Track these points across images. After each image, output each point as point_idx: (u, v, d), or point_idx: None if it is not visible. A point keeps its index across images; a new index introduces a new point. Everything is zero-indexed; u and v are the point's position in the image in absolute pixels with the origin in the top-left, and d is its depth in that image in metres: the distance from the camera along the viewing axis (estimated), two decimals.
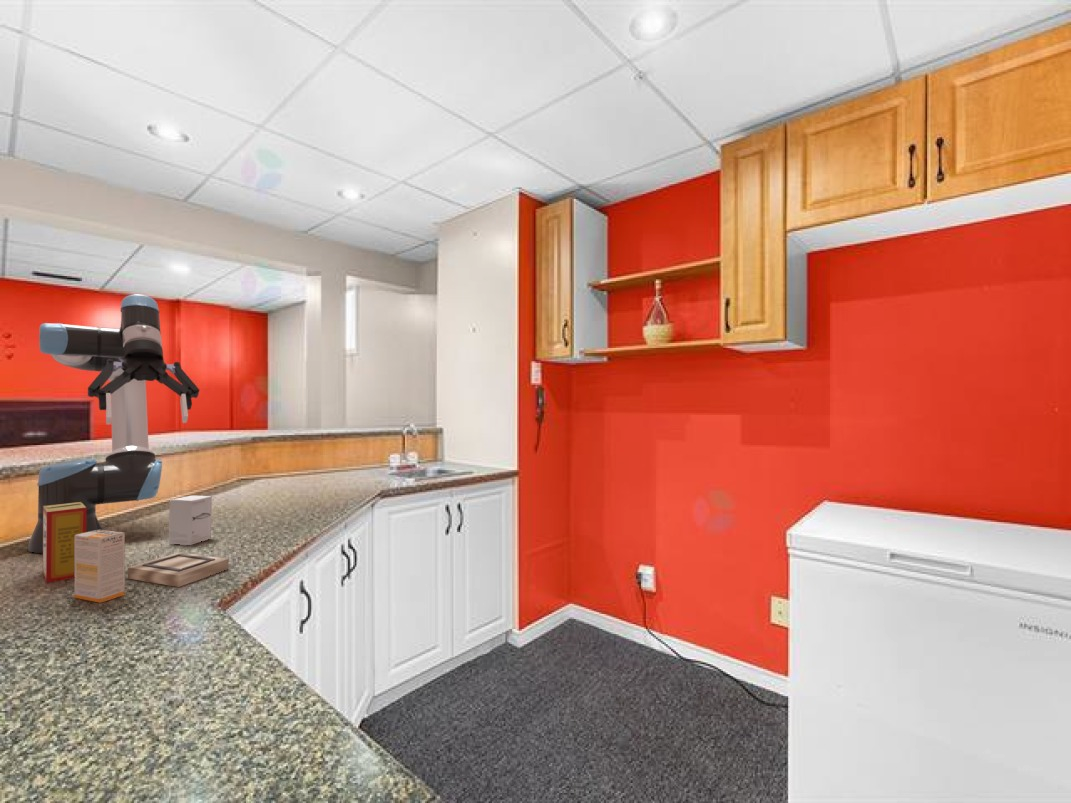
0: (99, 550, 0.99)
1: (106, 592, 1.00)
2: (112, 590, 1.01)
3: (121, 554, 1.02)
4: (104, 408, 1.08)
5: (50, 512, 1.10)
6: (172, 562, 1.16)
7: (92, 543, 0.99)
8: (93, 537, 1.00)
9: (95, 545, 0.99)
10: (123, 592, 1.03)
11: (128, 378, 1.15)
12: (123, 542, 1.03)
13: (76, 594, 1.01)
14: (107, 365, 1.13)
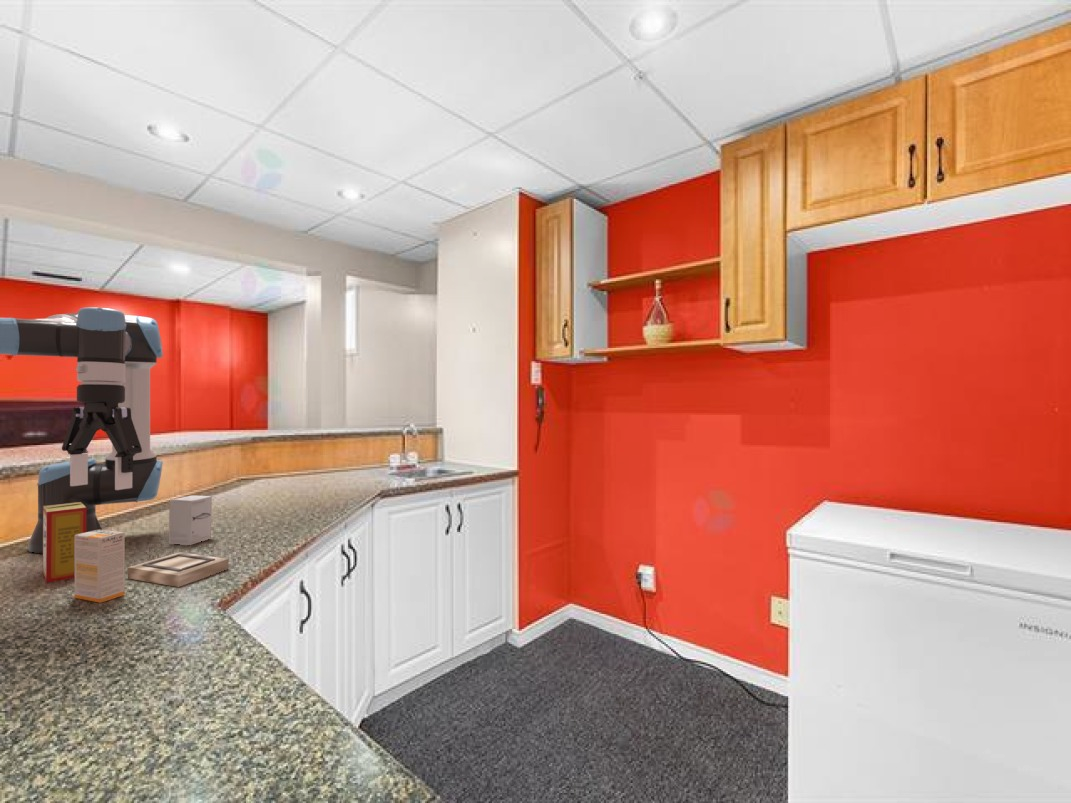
0: (99, 550, 0.99)
1: (106, 592, 1.00)
2: (112, 590, 1.01)
3: (121, 554, 1.02)
4: None
5: (50, 512, 1.10)
6: (172, 562, 1.16)
7: (92, 543, 0.99)
8: (93, 537, 1.00)
9: (94, 545, 0.99)
10: (123, 592, 1.03)
11: (90, 429, 1.03)
12: (123, 542, 1.03)
13: (76, 594, 1.01)
14: (72, 416, 1.03)
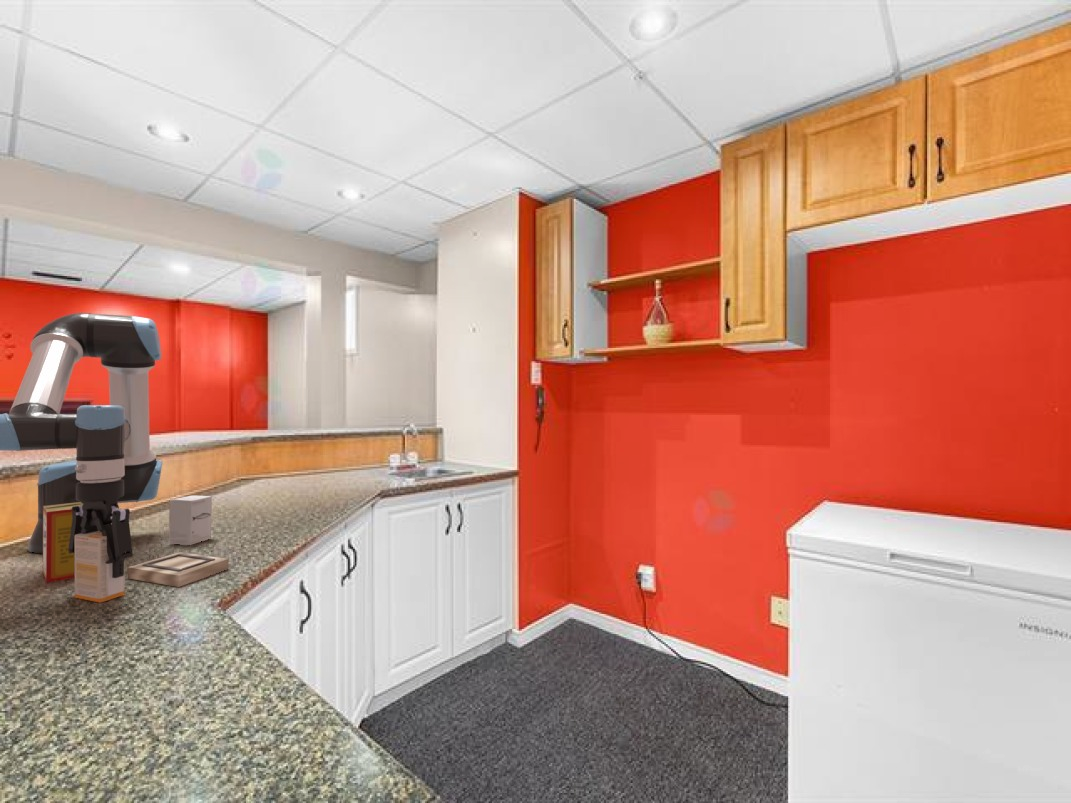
0: (99, 550, 0.99)
1: None
2: None
3: None
4: None
5: (50, 512, 1.10)
6: (172, 562, 1.16)
7: (92, 543, 0.99)
8: (93, 537, 1.00)
9: (94, 545, 0.99)
10: (123, 592, 1.03)
11: (93, 527, 1.03)
12: None
13: (76, 594, 1.01)
14: (73, 516, 1.03)
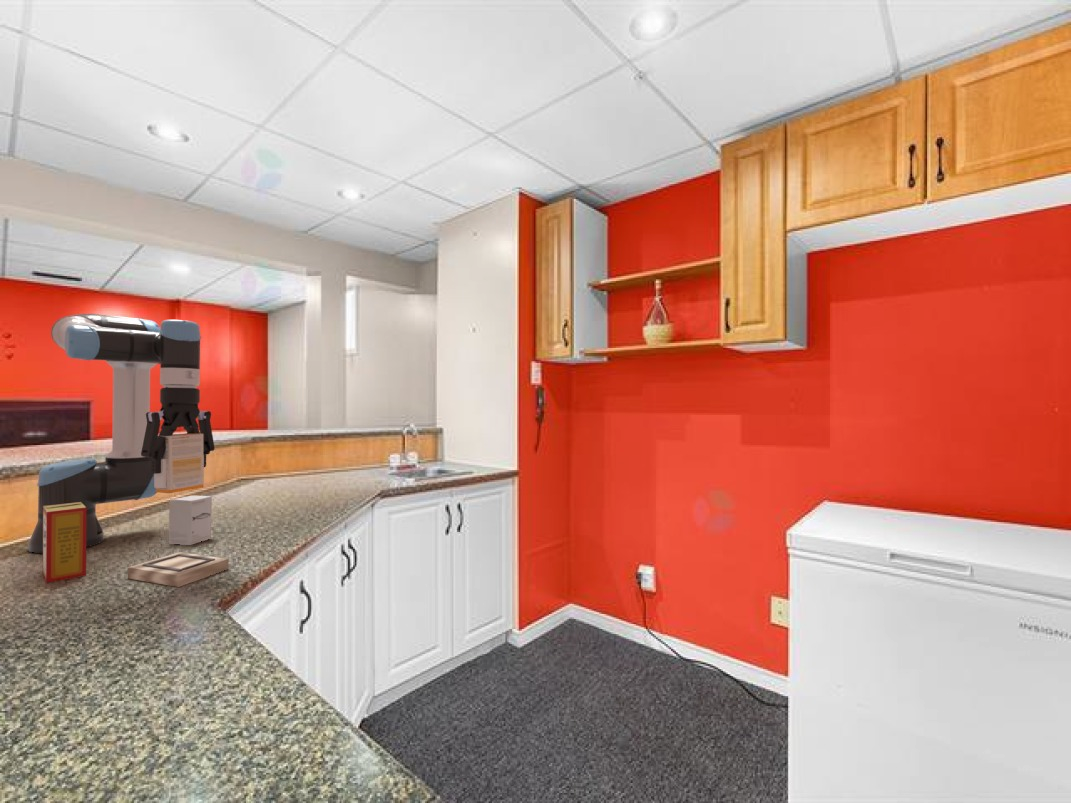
0: (202, 444, 1.19)
1: None
2: None
3: None
4: None
5: (50, 512, 1.10)
6: (172, 562, 1.16)
7: (194, 439, 1.17)
8: (193, 434, 1.17)
9: (197, 440, 1.17)
10: None
11: None
12: None
13: (173, 489, 1.12)
14: (155, 421, 1.09)
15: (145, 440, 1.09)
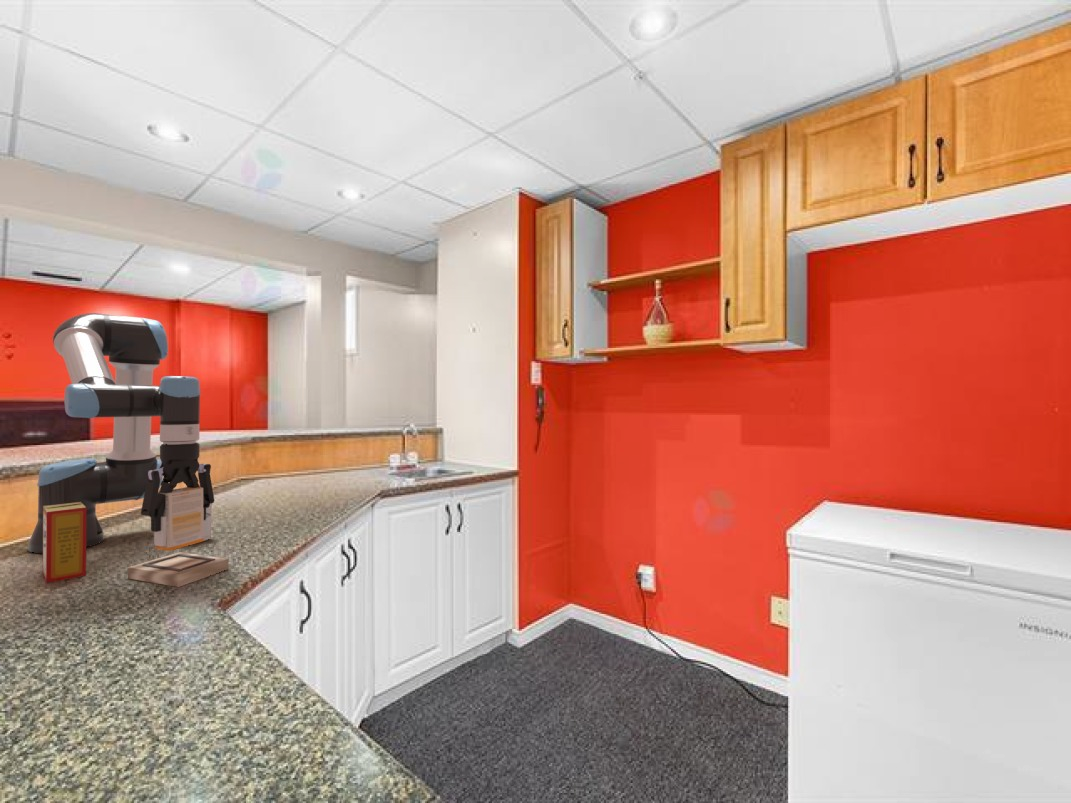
0: (202, 498, 1.19)
1: None
2: None
3: None
4: None
5: (50, 512, 1.10)
6: (172, 562, 1.16)
7: (194, 494, 1.17)
8: (192, 489, 1.17)
9: (197, 495, 1.17)
10: None
11: None
12: None
13: (173, 546, 1.12)
14: (155, 480, 1.09)
15: (145, 499, 1.09)
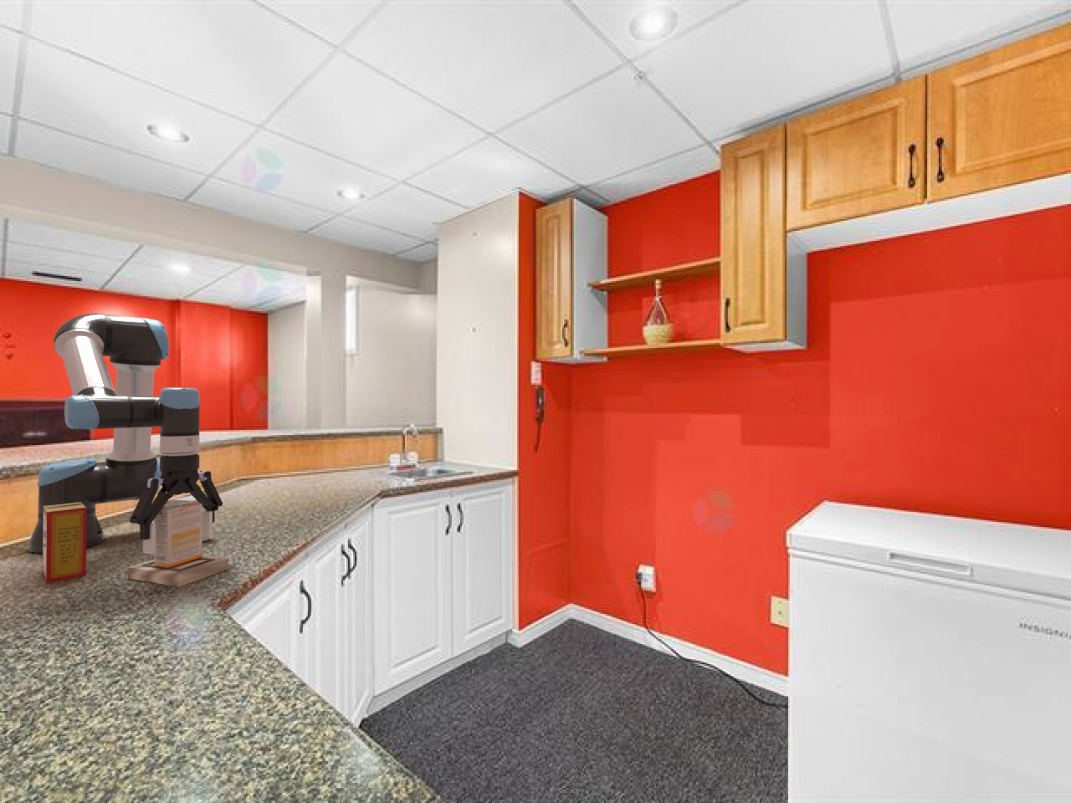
0: (201, 514, 1.18)
1: None
2: None
3: None
4: None
5: (50, 512, 1.10)
6: None
7: (193, 510, 1.17)
8: (191, 505, 1.17)
9: (196, 511, 1.17)
10: None
11: None
12: None
13: (172, 563, 1.12)
14: (153, 488, 1.09)
15: (137, 506, 1.08)
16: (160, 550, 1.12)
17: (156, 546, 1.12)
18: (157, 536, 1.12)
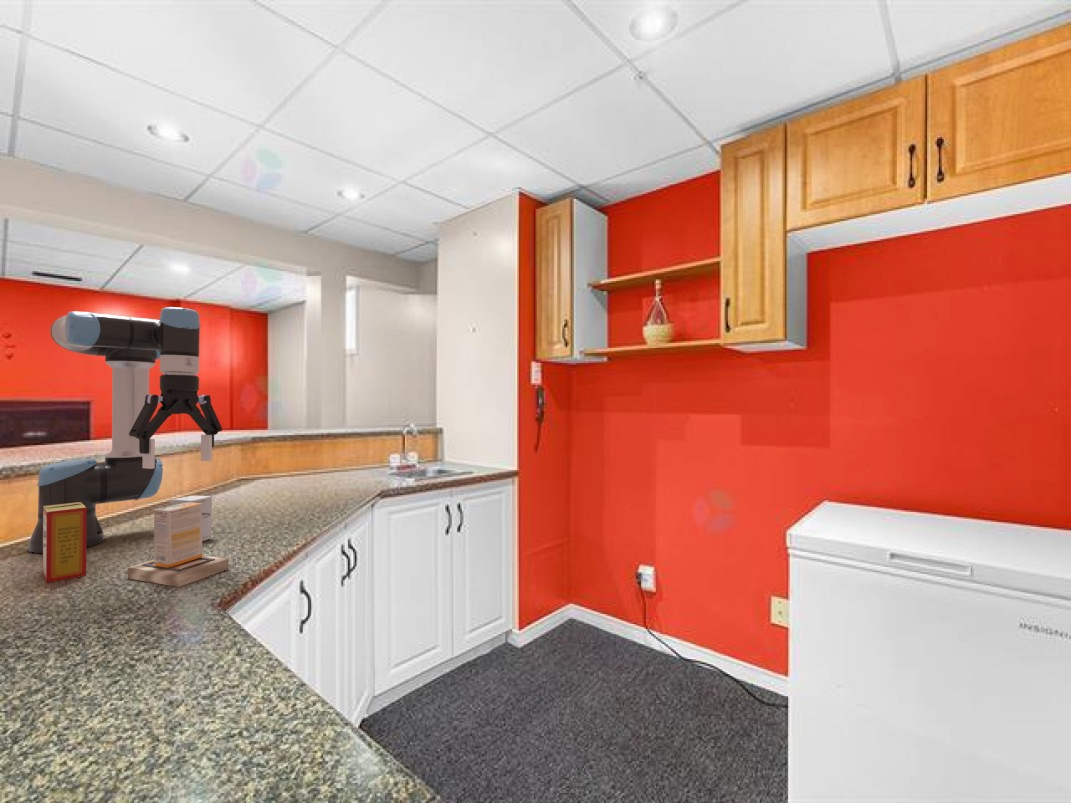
0: (201, 514, 1.18)
1: None
2: None
3: None
4: None
5: (50, 512, 1.10)
6: None
7: (193, 510, 1.17)
8: (191, 506, 1.17)
9: (196, 511, 1.17)
10: None
11: None
12: None
13: (172, 563, 1.12)
14: (153, 403, 1.10)
15: (137, 420, 1.09)
16: (160, 550, 1.12)
17: (156, 546, 1.12)
18: (157, 536, 1.12)
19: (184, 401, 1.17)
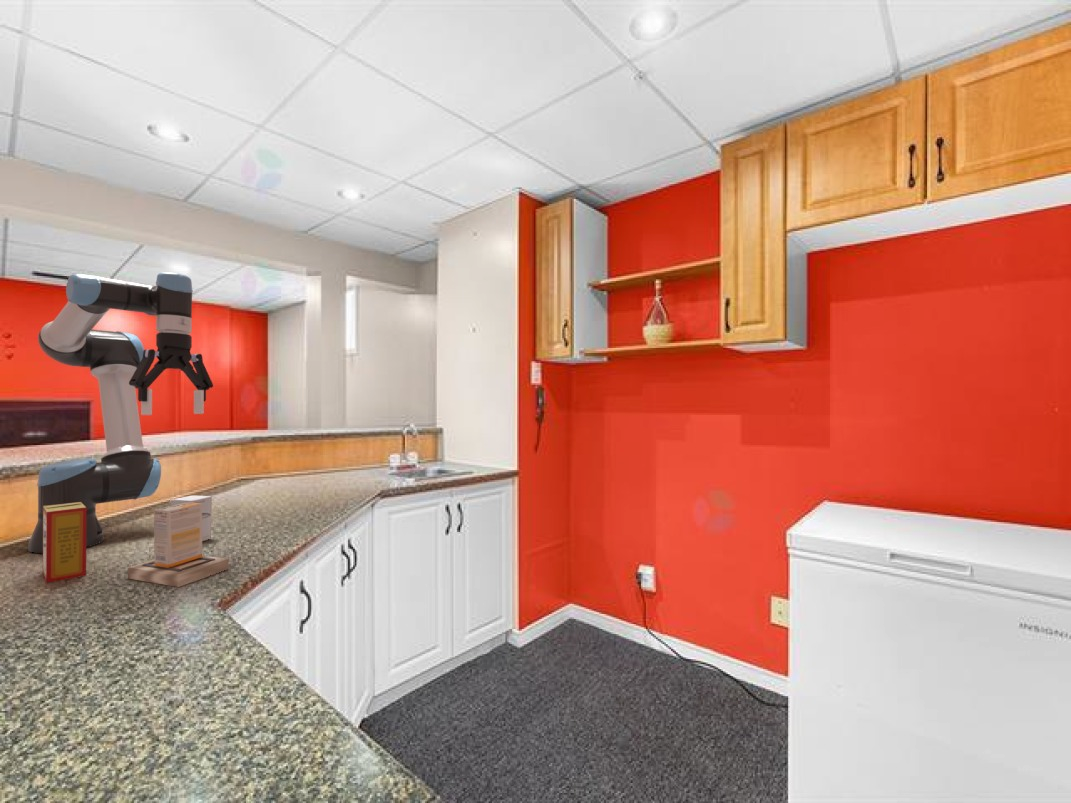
0: (201, 514, 1.18)
1: None
2: None
3: None
4: (143, 401, 1.23)
5: (50, 512, 1.10)
6: None
7: (193, 510, 1.17)
8: (191, 506, 1.17)
9: (196, 511, 1.17)
10: None
11: None
12: None
13: (172, 563, 1.12)
14: (150, 357, 1.24)
15: (136, 371, 1.22)
16: (160, 550, 1.12)
17: (156, 546, 1.12)
18: (157, 536, 1.12)
19: (178, 357, 1.30)
